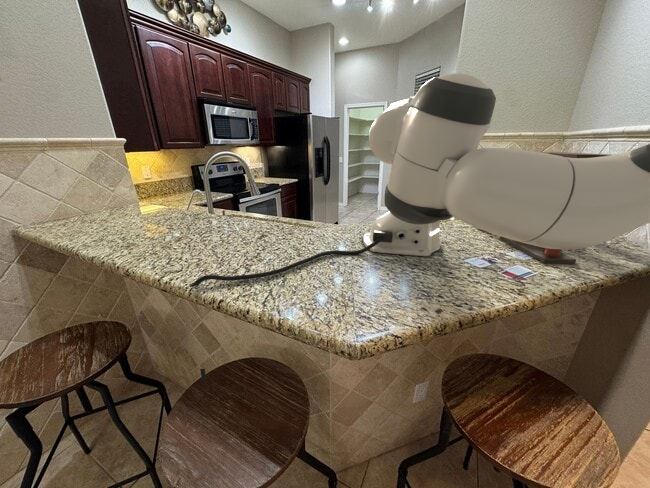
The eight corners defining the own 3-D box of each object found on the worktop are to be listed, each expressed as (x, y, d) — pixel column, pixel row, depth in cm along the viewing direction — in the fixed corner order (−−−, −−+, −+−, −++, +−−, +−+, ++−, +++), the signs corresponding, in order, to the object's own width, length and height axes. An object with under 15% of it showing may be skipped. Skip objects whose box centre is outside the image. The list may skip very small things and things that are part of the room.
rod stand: (544, 263, 67) (566, 199, 60) (499, 238, 83) (514, 186, 77) (575, 263, 67) (600, 199, 60) (524, 239, 83) (540, 187, 77)
